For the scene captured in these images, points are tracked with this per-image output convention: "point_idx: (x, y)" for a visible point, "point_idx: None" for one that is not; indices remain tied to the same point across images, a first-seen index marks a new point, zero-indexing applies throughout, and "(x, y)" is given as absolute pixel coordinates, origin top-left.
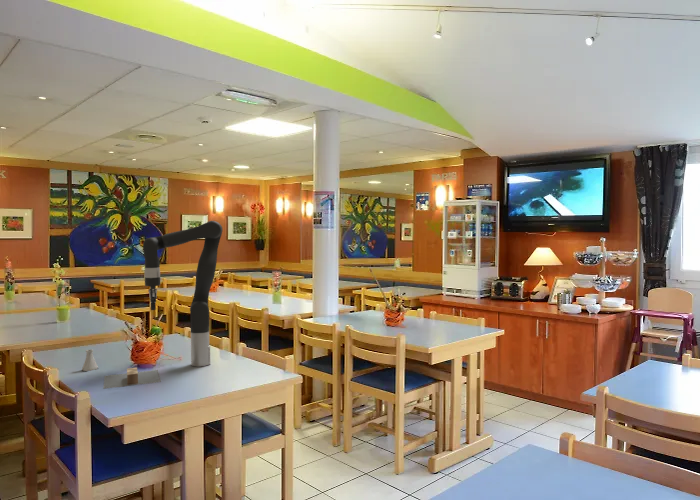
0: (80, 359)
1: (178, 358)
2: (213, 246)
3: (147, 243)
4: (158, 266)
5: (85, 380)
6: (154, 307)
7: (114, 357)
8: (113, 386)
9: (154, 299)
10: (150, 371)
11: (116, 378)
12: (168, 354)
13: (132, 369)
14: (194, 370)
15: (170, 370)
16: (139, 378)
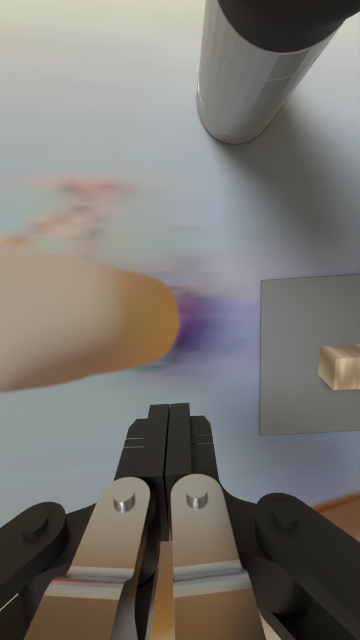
0: (11, 510)
1: (90, 196)
2: None
3: None
4: None
5: (276, 474)
6: (210, 433)
7: (8, 424)
8: None
9: (137, 553)
10: (271, 306)
11: (309, 403)
12: (4, 237)
13: (357, 372)
14: (324, 135)
15: (277, 234)
16: (347, 339)
